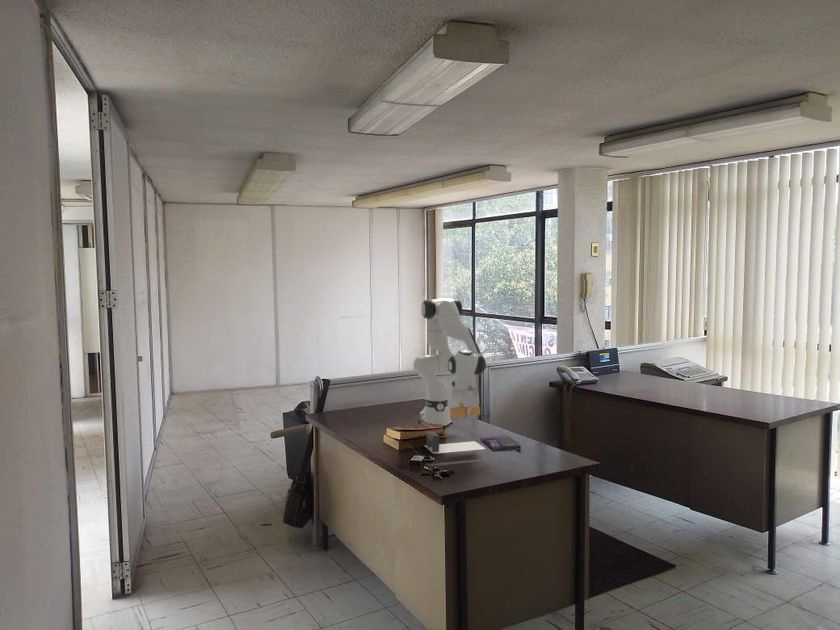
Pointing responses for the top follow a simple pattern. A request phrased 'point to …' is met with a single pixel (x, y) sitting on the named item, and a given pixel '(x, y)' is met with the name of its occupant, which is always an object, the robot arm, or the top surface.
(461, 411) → the orange foam brick
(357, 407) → the top surface
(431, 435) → the dark grey block
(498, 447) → the box
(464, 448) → the base plate
